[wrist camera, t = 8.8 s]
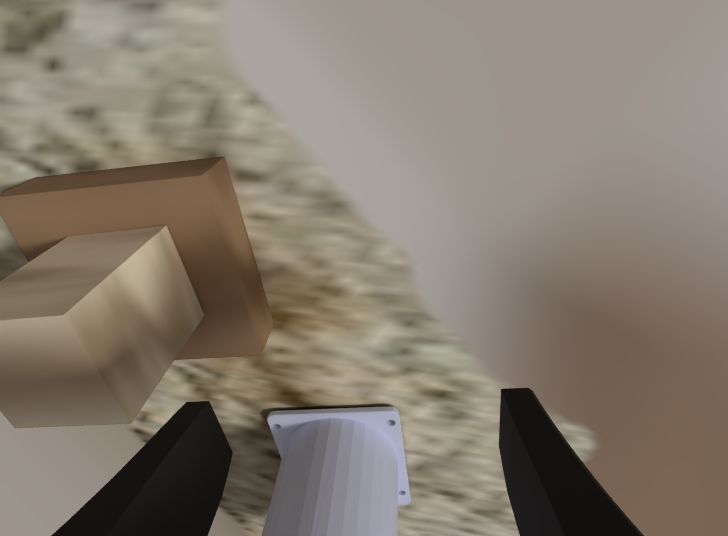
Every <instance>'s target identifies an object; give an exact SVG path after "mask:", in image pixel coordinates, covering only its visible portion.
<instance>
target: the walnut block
mask: <svg viewBox="0 0 728 536" xmlns="http://www.w3.org/2000/svg"><path fill="white" fill-rule="evenodd" d="M0 215H1V217H2V218H3V220H4V222H5V223H6V225H7V226H8V228H9V230H10V231H11V233H12V235H13V236H14V238H15V240H16V241H17V243H18V245H19V246H20V248H21V250H22V251H23V253H24V255H25V256H26V258H27V259H28V261H29V262H30V261H32V260H33V259H35V258H36V257H38V256H39V255H41V254H42V253H44V252H45V251H47V250H48V249H50V248H52V247H53V246H55V245H56V244H58V243H59V242H61V241H62V240H64V239H65V238H67V237H70V236H79V235H87V234H96V233H104V232H113V231H122V230H130V229H139V228H147V227H156V226H165V225H167V228H168V230H169V233H170V235H171V237H172V240H173V242H174V244H175V247H176V249H177V251H178V254H179V256H180V259H181V261H182V263H183V266H184V268H185V270H186V273H187V275H188V277H189V280H190V282H191V285H192V287H193V289H194V292H195V294H196V296H197V299H198V301H199V303H200V306H201V308H202V311H203V313H204V317H203V318H202V319H201V321H200V322H199V324H198V325H197V327H196V328H195V330H194V331H193V333H192V334H191V336H190V337H189V339H188V340H187V342H186V343H185V345H184V346H183V348H182V349H181V351H180V352H179V354H178V355H177V356H176V358H175V359H174V360H182V359H202V358H221V357H241V356H260V355H261V354H262V352H263V349H264V347H265V344H266V342H267V339H268V337H269V334H270V332H271V329H272V327H273V324H274V323H273V319H272V316H271V312H270V309H269V306H268V302H267V299H266V295H265V292H264V289H263V285H262V282H261V278H260V275H259V272H258V268H257V265H256V262H255V258H254V255H253V251H252V248H251V245H250V241H249V238H248V234H247V231H246V228H245V224H244V221H243V218H242V214H241V211H240V207H239V204H238V201H237V197H236V194H235V190H234V187H233V184H232V180H231V177H230V174H229V170H228V167H227V163H226V160H225V157H215V158H206V159H197V160H188V161H179V162H170V163H161V164H152V165H143V166H134V167H125V168H116V169H107V170H98V171H89V172H80V173H71V174H62V175H53V176H44V177H35V178H33V179H31V180H29V181H27V182H25V183H22V184H20V185H18V186H16V187H14V188H11V189H9V190H7V191H5V192H3V193H0Z"/></svg>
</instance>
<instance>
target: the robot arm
mask: <svg viewBox="0 0 728 536" xmlns="http://www.w3.org/2000/svg"><path fill="white" fill-rule="evenodd" d="M267 422H268V424H269V427H270V430H271V432H272V435H273V438H274V440H275V443H276V446H277V449H278V451H279V454H280V457H281V459H282V460H281V464H280V468H279V471H278V475H277V479H276V483H275V487H274V490H273V494H272V498H271V502H270V506H269V509H268V513H267V517H266V521H265V525H264V528H263V532H262V536H398V505H408V504H409V503H410V502H411V496H410V489H409V481H408V474H407V467H406V460H405V453H404V445H403V438H402V431H401V424H400V416H399V411H398V410H397V409H396V408H394V407H363V408H337V409H311V410H284V411H272V412H270V413H269V414H268V417H267ZM499 449H500V454H501V460H502V465H503V471H504V476H505V482H506V487H507V492H508V495H509V499H510V502H511V506H512V509H513V513H514V516H515V520H516V523H517V527H518V530H519V534H520V536H644V535H643V534H642V533H641V532H640V531H639V530H638V528H637V527H636V526H635V525H634V524H633V523H632V522H631V521H630V519H629V518H628V517H627V516H626V515H625V514H624V512H623V511H622V510H621V509H620V508H619V507H618V505H617V504H616V503H615V502H614V501H613V500H612V498H611V497H610V496H609V495H608V494H607V492H606V491H605V490H604V489H603V487H601V485H600V484H599V483H598V481H597V480H596V479H595V478H594V476H593V475H592V474H591V472H590V471H589V470H588V469H587V467H586V466H585V465H584V463H583V462H582V461H581V460H580V458H579V457H578V456H577V455H576V453H575V452H574V451H573V449H572V448H571V447H570V445H569V444H568V442H567V441H566V440H565V438H564V437H563V436H562V434H561V433H560V431H559V430H558V429H557V427H556V426H555V424H554V423H553V421H552V420H551V419H550V417H549V416H548V414H547V413H546V411H545V410H544V408H543V406H542V405H541V403H540V402H539V400H538V399H537V397H536V395H535V394H534V392H533V391H532V390H531V389H529V388H513V389H501V406H500V433H499ZM232 453H233V452H232V450H231V448H230V446H229V443H228V441H227V439H226V437H225V435H224V433H223V430H222V428H221V426H220V424H219V422H218V419H217V417H216V415H215V413H214V411H213V409H212V406H211V404H210V402H209V401H201V402H186V403H185V404H184V405H183V406H182V407H181V408H180V409H179V410H178V411H177V412H176V413H175V414H174V415H173V416H172V417H171V418H170V419H169V421H168V422H167V423H166V424H165V425H164V426H163V427H162V428H161V429H160V430H159V431H158V432H157V433H156V434H155V435H154V436H153V437H152V438H151V439H150V440H149V441H148V442H147V443H146V444H145V445H144V447H143V448H142V449H141V450H140V451H139V452H138V453H137V454H136V455H135V456H134V457H133V458H132V459H131V460H130V461H129V462H128V463H127V464H126V465H125V466H124V467H123V468H122V469H121V470H120V471H119V472H118V473H117V474H116V475H115V476H114V477H113V478H112V479H111V480H110V481H109V482H108V483H107V484H106V485H105V486H104V487H103V488H102V489H101V490H100V491H99V492H98V493H96V495H94V496H93V497H92V498H91V499H90V500H89V501H88V502H87V503H86V504H85V505H84V506H83V507H82V508H81V509H80V510H79V511H78V512H77V513H76V514H75V515H74V516H72V517H71V518H70V519H69V520H68V521H67V522H66V523H65V524H64V525H63V526H62V527H60V528H59V529H58V530H57V531H56V532H55V533H54V534H53V535H52V536H208V533H209V530H210V528H211V525H212V522H213V520H214V517H215V514H216V511H217V509H218V506H219V503H220V500H221V497H222V495H223V491H224V487H225V483H226V479H227V475H228V471H229V467H230V462H231V458H232Z"/></svg>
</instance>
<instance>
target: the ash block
mask: <svg viewBox="0 0 728 536" xmlns="http://www.w3.org/2000/svg"><path fill="white" fill-rule="evenodd" d="M203 317H204V313H203V311H202V308H201V306H200V303H199V301H198V299H197V296H196V294H195V292H194V289H193V287H192V285H191V282H190V280H189V277H188V275H187V273H186V270H185V268H184V266H183V263H182V261H181V259H180V256H179V254H178V251H177V249H176V247H175V244H174V242H173V240H172V237H171V235H170V233H169V230H168V228H167V225H165V226H156V227H147V228H139V229H130V230H122V231H113V232H104V233H96V234H87V235H79V236H70V237H67V238H65V239H64V240H62V241H61V242H59V243H58V244H56V245H55V246H53V247H52V248H50V249H48V250H47V251H45V252H44V253H42V254H41V255H39V256H38V257H36V258H35V259H33V260H32V261H30V262H29V263H27V264H25V265H24V266H22V267H21V268H19V269H18V270H16V271H15V272H13V273H12V274H10V275H9V276H7V277H6V278H4V279H2V280H1V281H0V411H1V412H2V413H3V414H4V416H5V417H6V418H7V419H8V420H9V422H10V423H11V424H12V425H13V426H14V428H30V427H31V428H33V427H58V426H84V425H108V424H131V423H132V422H133V420H134V419H135V417H136V416H137V414H138V413H139V411H140V410H141V408H142V407H143V405H144V404H145V402H146V401H147V399H148V398H149V396H150V395H151V393H152V392H153V391H154V389H155V388H156V386H157V385H158V383H159V382H160V380H161V379H162V377H163V376H164V374H165V373H166V371H167V370H168V368H169V367H170V365H171V364H172V362H173V361H174V359H175V358H176V356H177V355H178V354H179V352H180V351H181V349H182V348H183V346H184V345H185V343H186V342H187V340H188V339H189V337H190V336H191V334H192V333H193V331H194V330H195V328H196V327H197V325H198V324H199V322H200V321H201V319H202V318H203Z"/></svg>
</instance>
